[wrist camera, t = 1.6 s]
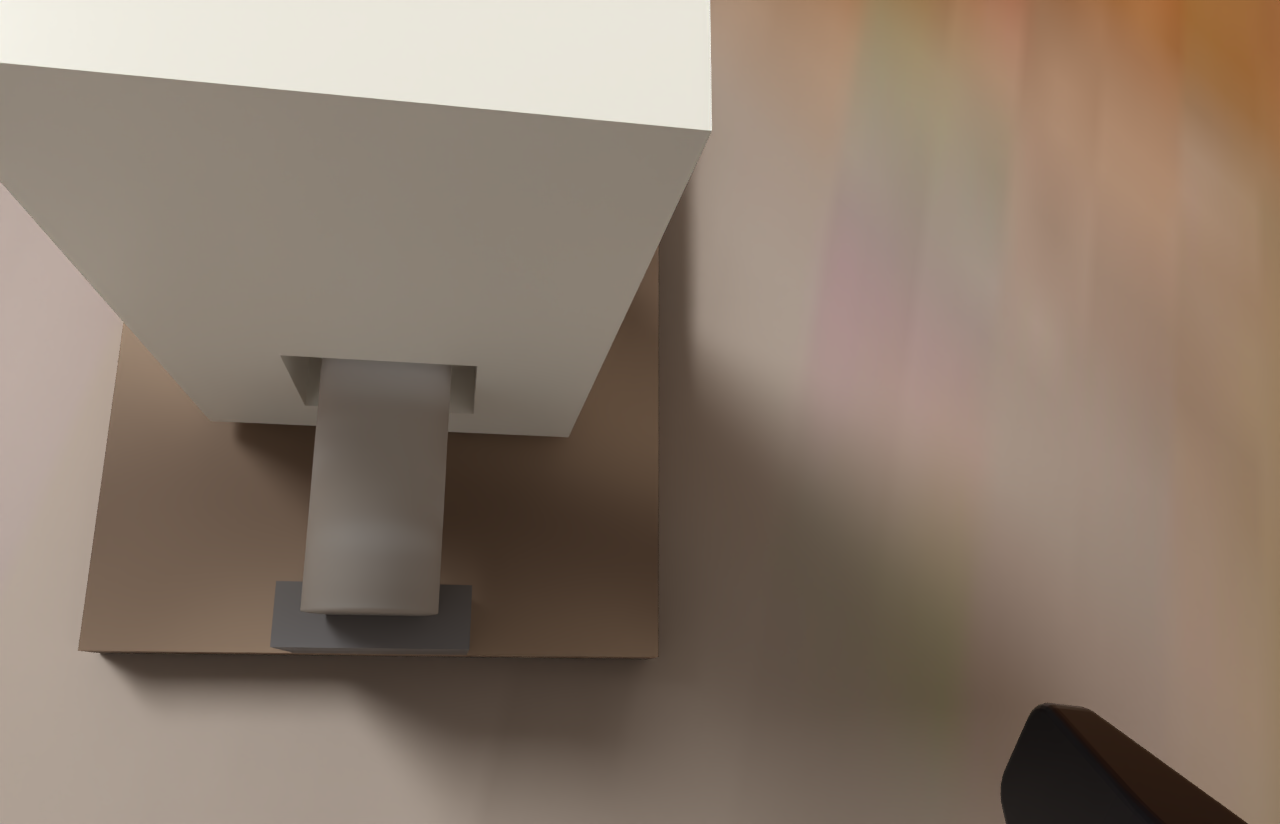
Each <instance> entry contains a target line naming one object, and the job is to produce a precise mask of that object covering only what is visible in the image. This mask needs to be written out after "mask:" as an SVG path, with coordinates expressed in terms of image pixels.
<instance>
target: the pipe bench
mask: <svg viewBox="0 0 1280 824" xmlns="http://www.w3.org/2000/svg"><path fill="white" fill-rule="evenodd" d="M451 366H452V365H445V364H427V363H409V362H391V361H373V360H355V359H338V358H322V364H321V376H320V387H319V399H318V410H317V422H316V426H309V425H287V424H265V423H243V422H221V421H210V420H209V419H208V418H207V416H206V415H205V414H204V413H203V412H202V411H201V410H200V408H199V407H198V406H197V405H196V404H195V403H194V402H193V400H192V399H191V398H190V397H189V396H188V395H187V394H186V392H185V391H184V390H183V389H182V388H181V387H180V386H179V385H178V383H177V382H176V381H175V380H174V379H173V378H172V377H171V375H170V374H169V373H168V372H167V371H166V370H165V369H164V367H163V366H162V365H161V364H160V363H159V362H158V361H157V359H156V358H155V357H154V356H153V355H152V354H151V353H150V351H149V350H148V349H147V348H146V347H145V346H144V345H143V343H142V342H141V341H140V340H139V339H138V338H137V337H136V335H135V334H134V333H133V332H132V331H131V330H130V329H129V328H128V326H127V325H126V324H125V323H123V330H122V337H121V344H120V351H119V359H118V366H117V373H116V380H115V388H114V395H113V402H112V409H111V416H110V424H109V431H108V438H107V445H106V452H105V460H104V467H103V474H102V481H101V488H100V496H99V503H98V510H97V517H96V525H95V532H94V539H93V546H92V553H91V561H90V568H89V575H88V582H87V589H86V597H85V604H84V611H83V618H82V626H81V633H80V640H79V647H78V651H87V652H96V653H175V654H266V655H357V656H448V657H539V658H630V659H650V658H656V657H658V563H659V245H658V247H657V249H656V251H655V253H654V255H653V258H652V260H651V262H650V264H649V266H648V268H647V270H646V273H645V275H644V277H643V279H642V281H641V283H640V285H639V288H638V290H637V292H636V294H635V296H634V298H633V300H632V302H631V305H630V307H629V309H628V311H627V313H626V315H625V317H624V320H623V322H622V324H621V326H620V328H619V330H618V332H617V335H616V337H615V339H614V341H613V343H612V345H611V347H610V349H609V352H608V354H607V356H606V358H605V360H604V362H603V364H602V367H601V369H600V371H599V373H598V375H597V377H596V379H595V382H594V384H593V386H592V388H591V390H590V392H589V394H588V397H587V399H586V401H585V403H584V405H583V407H582V409H581V411H580V414H579V416H578V418H577V420H576V422H575V424H574V426H573V429H572V431H571V433H570V435H569V437H551V436H529V435H507V434H485V433H463V432H448V422H449V403H450V384H451Z"/></svg>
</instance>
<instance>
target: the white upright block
mask: <svg viewBox="0 0 1280 824" xmlns="http://www.w3.org/2000/svg"><path fill="white" fill-rule="evenodd" d="M711 132H712V104H711V31H710V0H0V182H1V183H2V184H3V185H4V186H5V187H6V188H7V190H8V191H9V192H10V193H11V194H12V195H13V196H14V198H15V199H16V200H17V201H18V202H19V203H20V204H21V206H22V207H23V208H24V209H25V210H26V211H27V212H28V214H29V215H30V216H31V217H32V218H33V219H34V220H35V221H36V223H37V224H38V225H39V226H40V227H41V228H42V229H43V231H44V232H45V233H46V234H47V235H48V236H49V237H50V239H51V240H52V241H53V242H54V243H55V244H56V245H57V247H58V248H59V249H60V250H61V251H62V252H63V253H64V255H65V256H66V257H67V258H68V259H69V260H70V261H71V263H72V264H73V265H74V266H75V267H76V268H77V269H78V271H79V272H80V273H81V274H82V275H83V276H84V277H85V278H86V280H87V281H88V282H89V283H90V284H91V285H92V286H93V288H94V289H95V290H96V291H97V292H98V293H99V294H100V296H101V297H102V298H103V299H104V300H105V301H106V302H107V304H108V305H109V306H110V307H111V308H112V309H113V310H114V312H115V313H116V314H117V315H118V316H119V317H120V318H121V320H122V321H123V322H124V323H125V324H126V325H127V326H128V328H129V329H130V330H131V331H132V332H133V333H134V334H135V335H136V337H137V338H138V339H139V340H140V341H141V342H142V343H143V345H144V346H145V347H146V348H147V349H148V350H149V351H150V353H151V354H152V355H153V356H154V357H155V358H156V359H157V361H158V362H159V363H160V364H161V365H162V366H163V367H164V369H165V370H166V371H167V372H168V373H169V374H170V375H171V377H172V378H173V379H174V380H175V381H176V382H177V383H178V385H179V386H180V387H181V388H182V389H183V390H184V391H185V392H186V394H187V395H188V396H189V397H190V398H191V399H192V400H193V402H194V403H195V404H196V405H197V406H198V407H199V408H200V410H201V411H202V412H203V413H204V414H205V415H206V416H207V418H208V419H209V420H210V421H221V422H243V423H265V424H287V425H309V426H316V422H317V410H318V399H319V387H320V376H321V364H322V358H338V359H355V360H373V361H391V362H409V363H427V364H445V365H452V366H451V384H450V403H449V422H448V432H463V433H485V434H507V435H529V436H551V437H569V435H570V433H571V431H572V429H573V426H574V424H575V422H576V420H577V418H578V416H579V414H580V411H581V409H582V407H583V405H584V403H585V401H586V399H587V397H588V394H589V392H590V390H591V388H592V386H593V384H594V382H595V379H596V377H597V375H598V373H599V371H600V369H601V367H602V364H603V362H604V360H605V358H606V356H607V354H608V352H609V349H610V347H611V345H612V343H613V341H614V339H615V337H616V335H617V332H618V330H619V328H620V326H621V324H622V322H623V320H624V317H625V315H626V313H627V311H628V309H629V307H630V305H631V302H632V300H633V298H634V296H635V294H636V292H637V290H638V288H639V285H640V283H641V281H642V279H643V277H644V275H645V273H646V270H647V268H648V266H649V264H650V262H651V260H652V258H653V255H654V253H655V251H656V249H657V247H658V245H659V243H660V240H661V238H662V236H663V234H664V232H665V230H666V228H667V226H668V223H669V221H670V219H671V217H672V215H673V213H674V211H675V208H676V206H677V204H678V202H679V200H680V198H681V196H682V193H683V191H684V189H685V187H686V185H687V183H688V181H689V179H690V176H691V174H692V172H693V170H694V168H695V166H696V164H697V161H698V159H699V157H700V155H701V153H702V151H703V149H704V146H705V144H706V142H707V140H708V138H709V136H710V134H711Z"/></svg>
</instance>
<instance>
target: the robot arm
mask: <svg viewBox="0 0 1280 824" xmlns="http://www.w3.org/2000/svg"><path fill="white" fill-rule="evenodd" d="M1001 803H1002V809H1003V813H1004V817H1005V821H1006V824H1248V823H1246V822H1245V821H1244V820H1242V819H1241V818H1239V817H1238V816H1237V815H1235V814H1234V813H1232V812H1231V811H1230V810H1228V809H1227V808H1226V807H1224V806H1223V805H1221V804H1220V803H1219V802H1217V801H1216V800H1215V799H1213V798H1212V797H1210V796H1209V795H1208V794H1206V793H1205V792H1203V791H1202V790H1201V789H1199V788H1198V787H1197V786H1195V785H1194V784H1192V783H1191V782H1190V781H1188V780H1187V779H1186V778H1184V777H1183V776H1181V775H1180V774H1179V773H1177V772H1176V771H1175V770H1173V769H1172V768H1170V767H1169V766H1168V765H1166V764H1165V763H1163V762H1162V761H1161V760H1159V759H1158V758H1157V757H1155V756H1154V755H1152V754H1151V753H1150V752H1148V751H1147V750H1146V749H1144V748H1143V747H1141V746H1140V745H1139V744H1137V743H1136V742H1134V741H1133V740H1132V739H1130V738H1129V737H1128V736H1126V735H1125V734H1123V733H1122V732H1121V731H1119V730H1118V729H1117V728H1115V727H1114V726H1112V725H1111V724H1110V723H1108V722H1107V721H1106V720H1104V719H1103V718H1101V717H1100V716H1099V715H1097V714H1096V713H1094V712H1093V711H1091V710H1089V709H1087V708H1084V707H1079V706H1071V705H1062V704H1053V703H1044V704H1040V705H1038V706H1037V707H1035V708H1034V709H1033V710H1032V712H1031V713H1030V715H1029V717H1028V719H1027V721H1026V723H1025V726H1024V728H1023V730H1022V732H1021V735H1020V737H1019V739H1018V741H1017V744H1016V746H1015V748H1014V750H1013V753H1012V755H1011V757H1010V759H1009V762H1008V764H1007V766H1006V769H1005V771H1004V774H1003V777H1002V782H1001Z"/></svg>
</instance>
